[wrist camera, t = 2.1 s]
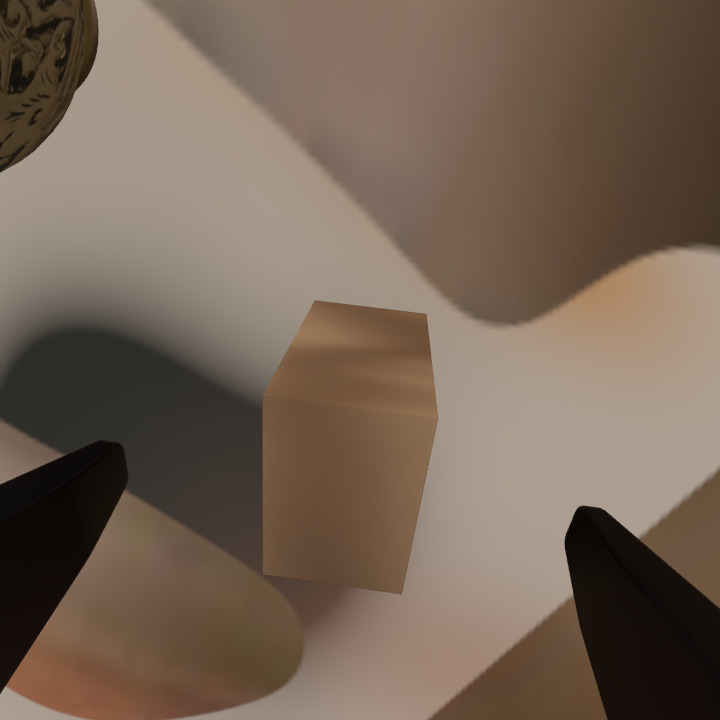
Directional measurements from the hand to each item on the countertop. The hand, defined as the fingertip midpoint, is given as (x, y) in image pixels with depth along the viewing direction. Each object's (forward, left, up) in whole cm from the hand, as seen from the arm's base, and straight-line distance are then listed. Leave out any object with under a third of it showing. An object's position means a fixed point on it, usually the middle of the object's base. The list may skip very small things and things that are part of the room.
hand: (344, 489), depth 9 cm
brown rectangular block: (0, 0, -5) cm, 5 cm away
